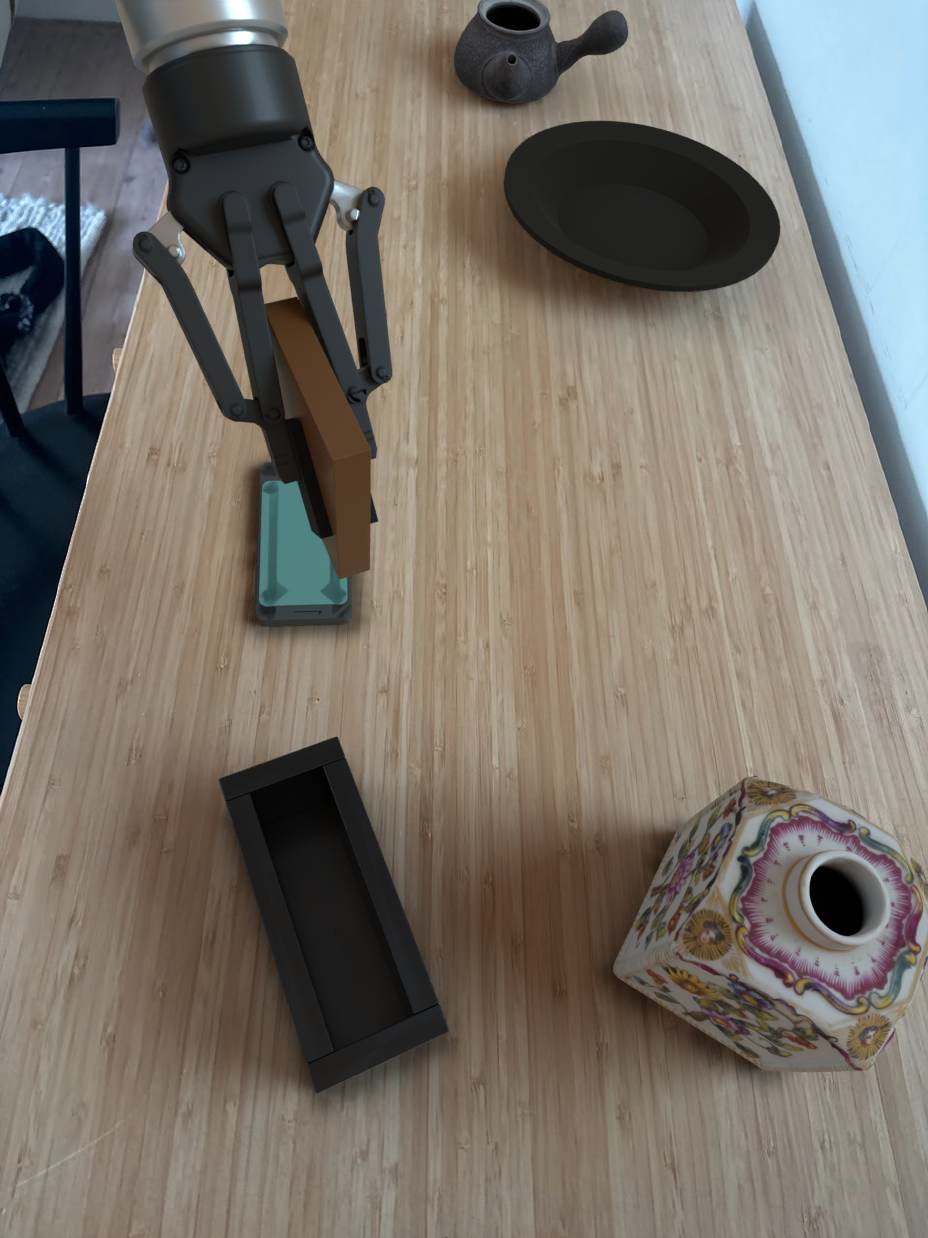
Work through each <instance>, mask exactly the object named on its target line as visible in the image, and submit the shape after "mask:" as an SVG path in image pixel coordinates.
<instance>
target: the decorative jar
mask: <svg viewBox="0 0 928 1238" xmlns="http://www.w3.org/2000/svg"><path fill="white" fill-rule="evenodd" d="M927 963H928V877H927V875H926V873H925V872H924V868H923V865H922V864H920V863H919V862H918V861H917V860H916V859H915V857H914V856H912V855H911V853H909V852H908V851H907V850H906V848H905V847H904V846H903V844H902V842H901V841H900V839H899V838H897V836H895V835H894V834H893V833H891V832H890V831H889V830H886V829H885V828H883V827H882V826H879V825H878V824H876V823H874V822H873V821H871V820H869V819H868V818H866V817H865V816H863V815H861V814H860V813H858V812H857V811H856V810H854V809H852V808H851V807H848V806H847V805H844V804H842V803H840V802H837V801H835V800H833V799H831V798H829V797H826V796H824V795H822V794H818V793H815V792H811V791H809V790H804V789H798V788H795V787H791V786H789V785H787V784H783V783H779V782H775V781H770V780H765V779H762V778H761V777H759V776H758V775H752V776H751V775H750V776H747V777H743V778H742V779H741V780H740V781H739V782H737V783H735V784H734V785H733V786H732V787H731V788H729V789H728V790H726V791H725V792H723V793H722V794H721V795H720V796H718V797H717V798H715V799H714V800H713V801H711V802H710V803H708V804H707V805H705V807H703V808H701V810H699V811H698V812H697V813H695V814H693V816H692V817H690V818H689V819H688V820H686V822H685V823H684V824H683V825H681V826H680V827H679V828H678V829H677V830H676V832H675V834H674V836H673V838H672V839H671V841H670V844H669V846H668V847H667V850H666V852H665V854H664V856H663V857H662V859H661V862H660V863H659V866H658V869H657V870H656V872H655V874H654V877H653V879H652V880H651V883H650V885H649V888H648V890H647V892H646V895H645V896H644V898H643V900H642V903H641V905H640V908H639V909H638V911H637V914H636V916H635V918H634V921H633V922H632V926H631V927H630V929H629V931H628V934H627V935H626V937H625V939H624V941H623V943H622V946H621V948H620V950H619V953H618V954H617V956H616V958H615V960H614V963H613V966H612V972H613V974H614V975H615V977H616V978H617V979H618V980H621V981H622V982H624V983H625V984H627V985H628V986H630V987H631V988H633V989H635V990H636V991H638V992H639V993H641V994H642V995H644V996H646V997H647V998H649V999H651V1000H652V1001H653V1002H655V1003H656V1004H658V1005H659V1006H661V1007H662V1008H664V1009H666V1010H668V1011H670V1012H672V1013H673V1014H674V1015H676V1016H677V1017H679V1018H680V1019H682V1020H683V1021H685V1022H686V1023H688V1024H689V1025H692V1027H695V1028H696V1029H697V1030H699V1031H701V1032H702V1033H704V1034H705V1035H708V1036H709V1037H710V1038H712V1039H713V1040H715V1041H716V1042H718V1043H720V1044H721V1045H723V1046H725V1047H726V1048H728V1049H730V1050H731V1051H733V1052H735V1053H736V1054H738V1055H739V1056H741V1057H742V1058H744V1059H745V1060H746V1061H749V1062H751V1063H752V1064H753V1065H755V1066H756V1067H758V1068H759V1069H761V1070H763V1071H766V1072H768V1071H769V1072H777V1073H778V1072H783V1073H832V1072H835V1073H836V1072H837V1073H838V1072H840V1073H841V1072H844V1073H845V1072H866V1071H868V1070H870V1069H871V1068H872V1067H873V1065H874V1063H875V1062H876V1058H877V1057H878V1056H879V1055H880V1054H881V1053H882V1052H883V1051H884V1049H885V1048H886V1047H887V1045H888V1044H890V1042H891V1040H892V1039H893V1038H894V1036H895V1031H896V1026H897V1025H898V1023H899V1021H900V1020H901V1019H902V1018H903V1017H904V1016H905V1014H906V1013H907V1011H908V1008H909V1007H910V1006H911V1004H912V1003H913V1001H914V998H915V995H916V991H917V990H918V989H917V988H918V987H919V985H920V983H921V981H922V979H923V975H924V972H925V968H926V966H927Z"/></svg>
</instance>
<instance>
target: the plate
mask: <svg viewBox="0 0 928 1238" xmlns="http://www.w3.org/2000/svg"><path fill="white" fill-rule="evenodd" d="M503 193H504V198H505V201H506V203H507V206H508V208H509V210H510V212H511V214H512V215H513V217H514V218H515V220H516V221H517V222H518V224H519V225H520V226H521V228H522V229H523V230H524V231H525V232H526V233H527V235H529V236H530V237H531V238H532V239H533V240H534V241H535V242H536V243H538V244H539V245H540V246H542V247H543V248H544V249H546V251H549V252H550V253H551V254H552V255H554V256H556V257H557V258H559V259H561V260H562V261H564V262H566V263H567V264H569V265H572V266H574V267H575V268H578V269H579V270H582V271H583V272H587V273H589V274H590V275H594V276H596V277H599V278H602V279H605V280H607V281H611V282H614V283H616V284H622V285H625V286H629V287H634V288H638V289H639V288H640V289H643V290H650V291H657V292H659V291H660V292H671V293H694V292H696V293H697V292H705V291H712V290H717V289H721V288H727V287H730V286H733V285H736V284H738V283H741V282H742V281H746V280H748V279H749V278H751V277H752V276H754V275H755V274H757V273H758V272H759V271H761V270H762V269H763V268H764V267H765V266H766V265H767V264H768V263H769V261H770V260H771V258H772V257H773V255H774V253H775V251H776V248H777V247H778V244H779V241H780V237H781V220H780V217H779V212H778V210H777V208H776V205H775V203H774V202H773V199H772V198H771V197H770V195H769V193H768V192H767V191H766V189H765V188H764V187H763V186H762V185H761V183H759V181H758V180H757V179H756V178H755V177H754V176H752V174H751V173H749V172H748V171H747V170H746V169H745V168H743V167H742V166H741V165H739V164H738V163H737V162H736V161H734V160H732V159H731V158H729V156H727V155H725V154H723V153H721V152H720V151H718V150H716V149H714V148H712V147H710V146H708V145H706V144H704V143H702V142H700V141H697V140H695V139H693V138H691V137H688V136H684V135H683V134H680V133H676V132H673V131H670V130H666V129H663V128H659V127H655V126H650V125H646V124H641V123H635V122H627V121H616V120H584V121H574V122H568V123H561V124H558V125H553V126H551V127H548V128H545V129H543V130H540V131H538V132H536V133H534V134H533V135H530V136H529V137H528V138H526V139H525V140H523V141H522V142H521V143H520V144H519V145H518V146H517V147H515V149H514V150H513V151H512V153H511V154H510V156H509V158H508V160H507V161H506V166H505V169H504V175H503Z"/></svg>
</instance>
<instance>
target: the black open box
mask: <svg viewBox="0 0 928 1238" xmlns="http://www.w3.org/2000/svg"><path fill="white" fill-rule="evenodd" d="M218 783H219V786H220V790H221V793H222V796H223V800H224V803H225V807H226V809H227V813H228V817H229V819H230V822H231V825H232V828H233V831H234V836H235V838H236V841H237V845H238V848H239V851H240V854H241V857H242V861H243V864H244V867H245V870H246V874H247V877H248V880H249V883H250V886H251V889H252V893H253V896H254V900H255V902H256V903H255V904H256V906H257V909H258V913H259V915H260V917H261V921H262V925H263V928H264V931H265V934H266V938H267V941H268V944H269V948H270V950H271V955H272V957H273V960H274V963H275V967H276V970H277V973H278V976H279V979H280V983H281V986H282V989H283V992H284V996H285V999H286V1002H287V1005H288V1008H289V1011H290V1012H289V1013H290V1016H291V1017H292V1018H291V1019H292V1021H293V1025H294V1028H295V1031H296V1034H297V1036H298V1040H299V1043H300V1046H301V1047H300V1048H301V1050H302V1053H303V1057H304V1059H305V1063H306V1064H307V1065H306V1066H307V1069H308V1072H309V1075H310V1080H311V1082H312V1085H313V1088H314V1091H315V1094H316V1095H318V1094H320V1093H323V1092H325V1091H328V1090H330V1089H331V1088H334V1087H336V1086H338V1085H340V1084H342V1083H344V1082H346V1081H348V1080H350V1079H353V1078H355V1077H357V1076H359V1075H361V1074H363V1073H365V1072H367V1071H370V1070H371V1069H374V1068H376V1067H379V1066H380V1065H382V1064H384V1063H387V1062H389V1061H391V1060H392V1059H393V1060H394V1059H395V1058H397V1057H399V1056H401V1055H403V1054H405V1053H408V1052H410V1051H412V1050H414V1049H416V1048H418V1047H420V1046H422V1045H425V1044H428V1043H429V1042H431V1041H433V1040H436V1039H437V1038H439V1037H441V1036H444V1035H446V1034H448V1033H449V1032H450V1028H449V1025H448V1023H447V1020H446V1018H445V1015H444V1013H443V1010H442V1007H441V1005H440V1003H439V999H438V997H437V994H436V991H435V989H434V986H433V984H432V981H431V978H430V976H429V973H428V970H427V967H426V965H425V962H424V959H423V957H422V954H421V951H420V949H419V947H418V944H417V941H416V939H415V936H414V934H413V930H412V928H411V925H410V923H409V920H408V918H407V915H406V912H405V909H404V907H403V904H402V902H401V899H400V896H399V895H398V891H397V888H396V885H395V883H394V881H393V878H392V875H391V873H390V870H389V867H388V865H387V862H386V860H385V857H384V855H383V851H382V849H381V847H380V843H379V841H378V839H377V835H376V833H375V831H374V828H373V826H372V823H371V820H370V818H369V815H368V812H367V810H366V807H365V804H364V802H363V799H362V796H361V793H360V791H359V788H358V785H357V783H356V781H355V778H354V775H353V773H352V770H351V768H350V765H349V763H348V759H347V758H346V754H345V751H344V749H343V747H342V744H341V742H340V738H339V737H338V736H337V735H336V736H334V737H333V736H332V737H330V738H327V739H325V740H322V741H319V742H317V743H314V744H311V745H309V746H306V747H303V748H300V749H297V750H295V751H292V752H289V753H287V754H284V755H281V756H278V757H276V758H273V759H269V760H267V761H264V762H261V763H259V764H255V765H253V766H250V767H248V768H245V769H242V770H239V771H236V772H233V773H231V774H227V775H226V776H223V777H220V778H219V779H218Z"/></svg>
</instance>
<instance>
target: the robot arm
mask: <svg viewBox="0 0 928 1238" xmlns="http://www.w3.org/2000/svg"><path fill="white" fill-rule="evenodd" d="M114 2H115V5H116V8H117V12H118V15H119V18H120V22H121V26H122V29H123V32H124V35H125V38H126V42H127V46H128V49H129V52H130V55H131V59H132V62H133V65H134V66H135V67H136V68H137V69H138V70H139V71H141V72H143V73H144V74H146V75H147V76H146V77H145V79H144V83H143V86H142V87H141V92H142V96H143V99H144V103H145V106H146V109H147V112H148V115H149V119H150V123H151V125H152V128H153V132H154V135H155V138H156V142H157V144H158V148H159V151H160V154H161V158H162V161H163V164H164V168H165V172H166V175H167V180H168V189H167V196H166V209H167V212H166V213H165V214H164V215H162V217H160V218H159V219H158V220H157V221H156V222H155V223H154V224H152V226H151V227H150V228H149V229H147V230H146V231H139V232H138V233H136V234H135V235H134V237H133V238H132V239H133V240H132V245H131V246H132V247H131V251H132V255H133V256H134V259H135V260H137V262H138V263H139V264H140V265H141V266H142V267H143V268H144V269H145V270H146V271H147V272H148V273H149V274H150V276H151V277H152V278H153V279H154V280H155V281H156V282H157V283H158V284H159V286H161V289H162V290H163V293H164V294H165V297H166V299H167V301H168V304H169V305H170V308H171V309H172V312H173V314H174V316H175V317H176V320H177V322H178V324H179V327H180V328H181V330H182V332H183V335H184V337H185V339H186V341H187V343H188V346H189V348H190V349H191V352H192V354H193V357H194V358H195V360H196V362H197V364H198V366H199V369H200V371H201V373H202V375H203V377H204V380H205V381H206V384H207V386H208V388H209V390H210V392H211V395H212V396H213V398H214V400H215V403H216V405H217V407H218V409H219V411H220V413H221V414H222V416H223V417H224V418H226V419H227V420H230V421H232V422H235V423H247V424H255V425H257V426H258V427H259V428H260V430H261V432H262V435H263V439H264V442H265V445H266V448H267V451H268V456H269V458H270V462H272V465H273V468H274V472H275V474H276V475H277V477H278V478H279V479H280V480H281V482H283V483H284V484H288V483H291V482H295V481H297V483H298V486H299V490H300V493H301V497H302V500H303V503H304V507H305V510H306V514H307V517H308V521H309V524H310V527H311V531H312V532H313V533H314V534H316V535H317V536H318V537H319V538H320V539H323V538H327V537H330V536H333V532H332V529H331V525H330V522H329V518H328V515H327V511H326V508H325V504H324V501H323V497H322V494H321V490H320V487H319V483H318V480H317V476H316V473H315V469H314V465H313V462H312V458H311V455H310V451H309V448H308V444H307V441H306V437H305V434H304V430H303V427H302V423H301V420H297V419H294V418H290V419H285V410H284V405H283V399H282V394H281V389H280V383H279V378H278V373H277V367H276V362H275V357H274V352H273V346H272V341H271V336H270V330H269V325H268V320H267V314H266V309H265V304H266V303H265V299H264V294H263V293H264V292H263V280H262V274H261V269H262V268H265V267H266V266H267V265H274V266H275V265H276V266H284V269H285V272H286V274H287V277H288V279H289V282H290V283H291V284H292V286H293V289H294V291H295V293H296V295H297V296H296V297H298V299H299V301H300V304H301V306H302V308H303V310H304V312H305V314H306V316H307V318H308V320H309V322H310V324H311V326H312V328H313V330H314V333H315V335H316V337H317V339H318V341H319V343H320V345H321V347H322V349H323V351H324V353H325V355H326V357H327V359H328V362H329V364H330V366H331V368H332V370H333V372H334V374H335V376H336V378H337V380H338V382H339V384H340V386H341V389H342V391H343V393H344V395H345V397H346V399H347V401H348V403H349V405H350V407H351V409H352V411H353V413H354V415H355V418H356V420H357V422H358V424H359V426H360V428H361V430H362V432H363V434H364V436H365V438H366V440H367V442H368V444H369V447H370V449H371V460H374V459H377V455H378V446H377V442H376V438H375V435H374V431H373V430H374V429H373V426H372V422H371V418H370V414H369V410H368V405H367V401H368V397H369V396H370V395H371V394H372V393H373V392H374V391H375V390H376V389H379V387H381V386H382V385H384V384H388V383H389V381H391V379H392V377H393V364H392V356H391V345H390V338H389V328H388V317H387V310H386V309H387V308H386V299H385V290H384V281H383V273H382V263H381V253H380V245H379V244H380V243H379V232H380V228H381V223H382V219H383V214H384V209H385V205H386V198H385V195H384V192H383V191H382V189H380V188H379V187H377V186H369V187H367V188H366V189H363V188H360V187H358V186H354V185H351V184H349V183H347V182H343V181H340V180H338V179H335V175H334V172H333V169H332V168H331V167H330V165H329V163H327V161H326V160H325V158H323V156H322V154H321V153H320V151H319V148H318V146H317V143H316V139H315V134H314V131H313V127H312V122H311V119H310V114H309V111H308V107H307V102H306V99H305V95H304V91H303V86H302V83H301V78H300V74H299V71H298V66H297V61H296V60H295V57H293V56H292V55H291V54H289V52H288V51H287V50H286V49H284V45H285V44H286V41H287V39H288V37H289V29H288V25H287V22H286V18H285V15H284V10H283V6H282V3H281V0H114ZM19 3H20V0H0V69H1V67H2V63H3V59H4V55H5V51H6V47H7V43H8V39H9V36H10V33H11V31H12V30H13V26H14V22H15V19H16V15H17V10H18V8H19ZM330 205H331V206H332V207H333V209H334V211H335V214H336V215H335V216H336V223H337V226H339V228H340V229H341V230H343V231H345V256H346V263H347V264H346V265H347V272H348V281H349V291H350V297H351V298H350V299H351V306H352V316H353V324H354V331H355V340H356V349H357V355H358V356H357V357H358V365H359V366H358V367H359V368H358V367H357V363H356V362H355V359H354V356H353V353H352V351H351V348H350V345H349V342H348V339H347V336H346V333H345V332H344V328H343V326H342V322H341V319H340V317H339V313H338V311H337V308H336V306H335V303H334V300H333V297H332V295H331V291H330V289H329V286H328V284H327V281H326V278H325V275H324V267H323V263H322V260H321V256H320V254H319V252H318V249H317V246H316V243H317V242H318V238H319V235H320V233H321V229H322V226H323V224H324V222H325V221H324V220H325V217H326V214H327V212H328V209H329V206H330ZM182 233H185V234H186V235H187V236H188V237H189V238H190V239H191V240H193V242H195V243H196V244H197V245H198V246H199V247H200V248H201V249H203V250H204V251H205V252H206V253H207V254H209V256H211V257H212V258H213V259H214V260H215V261H217V262H218V263H219V264H220V265H221V266H222V267H224V268H225V270H226V276H227V281H228V285H229V290H230V293H231V296H232V299H233V304H234V310H235V315H236V319H237V325H238V330H239V335H240V341H241V345H242V351H243V354H244V359H245V360H244V361H245V366H246V369H247V375H248V380H249V386H250V390H251V395H252V398H245V397H244V395H243V393H242V391H241V389H240V387H239V384H238V382H237V380H236V378H235V376H234V374H233V371H232V369H231V367H230V364H229V363H228V361H227V358H226V356H225V354H224V352H223V349H222V347H221V344H220V343H219V340H218V337H217V336H216V334H215V332H214V330H213V327H212V325H211V323H210V321H209V318H208V317H207V315H206V312H205V310H204V308H203V306H202V304H201V301H200V299H199V297H198V295H197V292H196V290H195V288H194V285H193V283H192V282H191V280H190V278H189V276H188V274H187V273H186V271H185V270H184V268H183V266H182V264H183V263H184V262H185V260H186V258H187V256H186V254H187V252H186V249H185V247H184V245H183V244H182V240H181V234H182ZM378 522H379V517H378V514H377V510H376V507H375V503H374V499H373V495H372V494H371V510H370V525H371V524H372V525H373V524H375V523H378Z"/></svg>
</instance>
